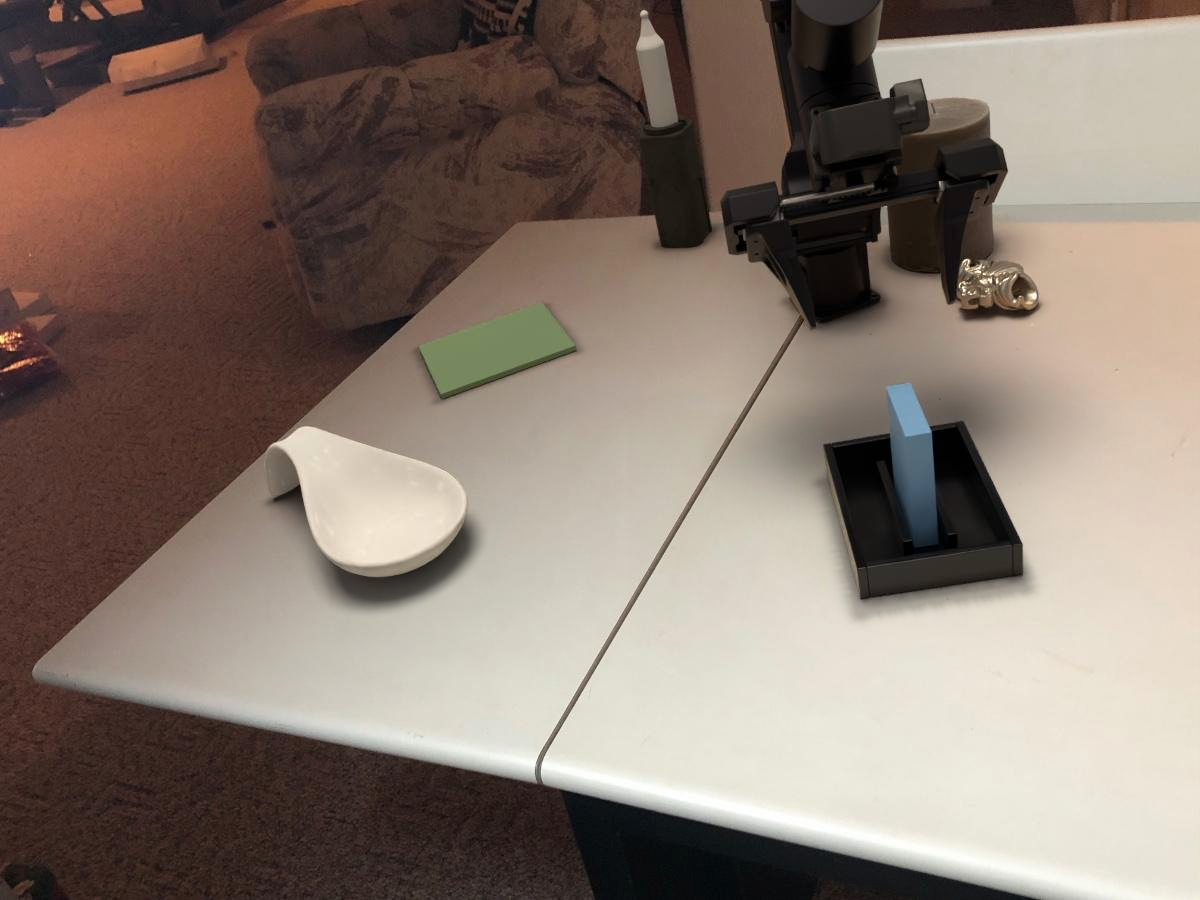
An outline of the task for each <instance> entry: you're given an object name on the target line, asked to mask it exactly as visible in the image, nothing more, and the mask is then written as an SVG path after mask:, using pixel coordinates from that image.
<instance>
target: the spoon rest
mask: <svg viewBox="0 0 1200 900" xmlns="http://www.w3.org/2000/svg"><path fill="white" fill-rule="evenodd" d="M263 463H264V467H263V469H264V476H265V482H266V485H267V489H268V492H269V494H270V495H271V496H273V497H279V496H281V495H285V494H287V493H289V492H290V491H292V490H293V489H295V488H297V487H298V486H300V491H301V496H302V502H303V506H304V510H305V515H306V519H307V523H308V526H309V530H310V532H311V535H312V537H313V540H314V542H315V544H316V546H317V547H318V549H319V550H320V551H321V553H322V554H323V556H325V557H326V558H327V559H328V560H329V561H330V562H332V564H334V565H335V566H336V567H339V568H340V569H342V570H344V571H346V572H349V573H352V574H355V575H360V576H365V577H369V578H371V577H372V578H386V577H394V576H398V575H403V574H406V573H409V572H411V571H412V572H413V571H414V570H417V569H419V568H421V567H423V566H425V565H427V564H428V563H430V562H432V561H433V560H434V559H435V558H437V557H438V556H440V555H441V554H442V553H443V552H444V551H445V550H446V549H447V548H449V546H450V544H451V543H452V542H453V541H454V540H455V538H456V537H457V535H458V534H459V532H460V531H461V529H462V527H463V524H464V522H465V520H466V517H467V514H468V510H469V499H468V495H467V493H466V490H465V488H464V487H463V485H462V484H461V482H460V481H459V480H458V479H456V477H454V476H453V475H452V474H450V473H448V472H447V471H445V470H443V469H441V468H439V467H437V466H435V465H433V464H430V463H427V462H424V461H421V460H418V459H414V458H412V457H408V456H404V455H401V454H398V453H394V452H391V451H388V450H385V449H381V448H378V447H375V446H371V445H368V444H365V443H362V442H360V441H359V442H358V441H356V440H352V439H350V438H346V437H344V436H341V435H339V434H335V433H332V432H329V431H326V430H324V429H321V428H318V427H314V426H309V425H308V426H307V425H305V426H301V427H299V428H296V429H295V431H293V432H292V433H291V434H290V435H289V436H288V437H286V438H285V439H282V440H279V441H276V442H273V443H272V444H270V445H269V446H268V447H267V450H266V452H265V455H264V462H263Z"/></svg>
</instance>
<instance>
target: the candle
mask: <svg viewBox="0 0 1200 900" xmlns="http://www.w3.org/2000/svg"><path fill="white" fill-rule="evenodd" d="M639 17H640V18H641V22H640V23H641V24H640V34H639V35H640V36H639V39H638V41H637V44H636V47H635V50H636V51H635V52H636V55H637V61H638V65H639V70H640V76H641V80H642V85H643V90H644V95H645V101H646V105H647V110H648V116H649V120H648V121H647V122H646V124H644V125H643V131H642V132H641V133H640V134H639V135H638V140H639V145H640V151H641V156H642V161H643V165H644V169H645V175H646V180H647V184H648V189H649V193H650V198H651V204H652V209H653V214H654V218H655V219H654V220H655V223H656V224H655V225H656V229H657V232H658V233H657V234H658V239H659V243H660V246H661V247H662V248H694V247H698V246H700V245H701V244H703V243H704V240H705V238H706V237H707V236H708V234H710V233H712V231H713V227H712V221H711V214H710V210H709V203H708V198H707V197H708V196H707V192H706V187H705V181H704V175H703V170H702V163H701V157H700V153H699V148H698V141H697V135H696V130H695V125H694V120H693V119H691V118H686V115H683V114H679V113H678V111H677V106H676V101H675V95H674V90H673V89H674V88H673V84H672V78H671V72H670V67H669V62H668V56H667V52H666V46H665V42H664V39H662V38H661V37H660V35H658V33H657V32H656V30H655V28H654V27H653V25H652V23H651V20H650V19H649V12H648V11H647V10H645V9H643V10H641V11H640V13H639Z"/></svg>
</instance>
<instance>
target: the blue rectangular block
mask: <svg viewBox="0 0 1200 900" xmlns="http://www.w3.org/2000/svg"><path fill="white" fill-rule="evenodd" d="M885 393H886V404H887V415H888V417H887V418H888V427H889V433H890V440H891V452H892V463H893V475H894V486H895V492H896V495H897V498H898V501H899V504H900V506H901V509H902V512H903V515H904V518H905V521H906V524H907V526H908V529H909V532H910V535H911V538H912V542H913V547H914V548H918V547H924V546H931V545H937V544H938V527H937V511H936V495H935V478H934V462H933V446H932V432H931V430H930V427H929V426H930V425H929V423H928V420H927V418H926V416H925V413H924V411H923V409H922V406H921V404H920V401H919V399H918V397H917V394H916V393H915V390H914V388H913V385H912V383H911V382H905V383H900V384H894V385H893V384H892V385H888V386H885Z"/></svg>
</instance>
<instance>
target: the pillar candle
mask: <svg viewBox="0 0 1200 900" xmlns="http://www.w3.org/2000/svg"><path fill="white" fill-rule="evenodd" d="M927 103H928V110H929V117H930V126H929V127H928V129H926V130H925V131H923V132H920V133H915V134H910V135H905V136H902V142H903V148H902V149H901V151H902V156H903V158H902V162H901V165H897V166H896V170H897V175H898V174H903V173H908V172H913V171H918V170H923V169H928V168H933V164H934V161H935V158H936V154H937V151H938V148H940V147H945V146H950V145H955V144H960V143H965V142H970V141H975V140H980V139H985V138H991V137H992V136H991V134H992V133H991V110H990V107H989V104H988V102H987V101H983V100H981V99H980V98H979V99H977V98H967V97H954V96H953V97H943V98H931V99H927ZM991 139H992V138H991ZM886 209H887V212H886V213H887V224H888V226H887V227H888V228H887V229H888V239H889V251H890V256H891V259H892V260H893V262H894V263H895V264H897V266H899V267H901V268H903V269H906V270H910V271H914V272H927V273H940V268H939V261H938V253H937V246H936V239H935V231H934V224H933V221H934V218H935V215H936V213H937V210H938V208H936V207H934V204H933V199H932V197H930V198H925V199H920V200H914V201H909V202H904V203H899V204H894V205H889V206H886ZM993 219H994V217H993V203H992V204H990V205H988V206H986V207H982V208H981V210H980V213H979V215H978V217H977V218H976V219H974V220H971V221H967V224H966V227H965V231H964V236H963V242H962V248H961V258H960V265H961V263H962V261H963V260H965V259H970V260H971V264H970V266H973V265H976V264H975V261H976V260H980V259H983V260H985V259H986V258H987V257H988V256H989V255H990V254H991V253H992V251H993V248H994V221H993ZM959 267H960V266H959Z"/></svg>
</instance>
